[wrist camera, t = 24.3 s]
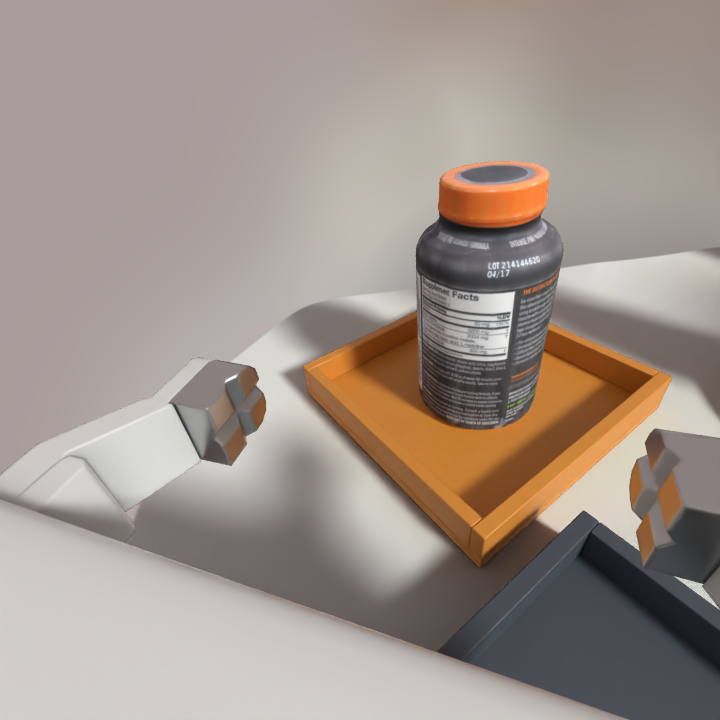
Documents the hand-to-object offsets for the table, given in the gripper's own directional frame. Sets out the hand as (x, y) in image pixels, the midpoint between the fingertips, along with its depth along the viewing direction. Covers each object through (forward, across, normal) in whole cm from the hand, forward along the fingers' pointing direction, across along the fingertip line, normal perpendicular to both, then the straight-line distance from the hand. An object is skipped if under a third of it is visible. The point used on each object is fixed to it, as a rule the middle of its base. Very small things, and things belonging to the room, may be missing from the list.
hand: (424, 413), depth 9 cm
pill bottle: (+11, 0, +9) cm, 14 cm away
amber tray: (+11, 0, +10) cm, 15 cm away
